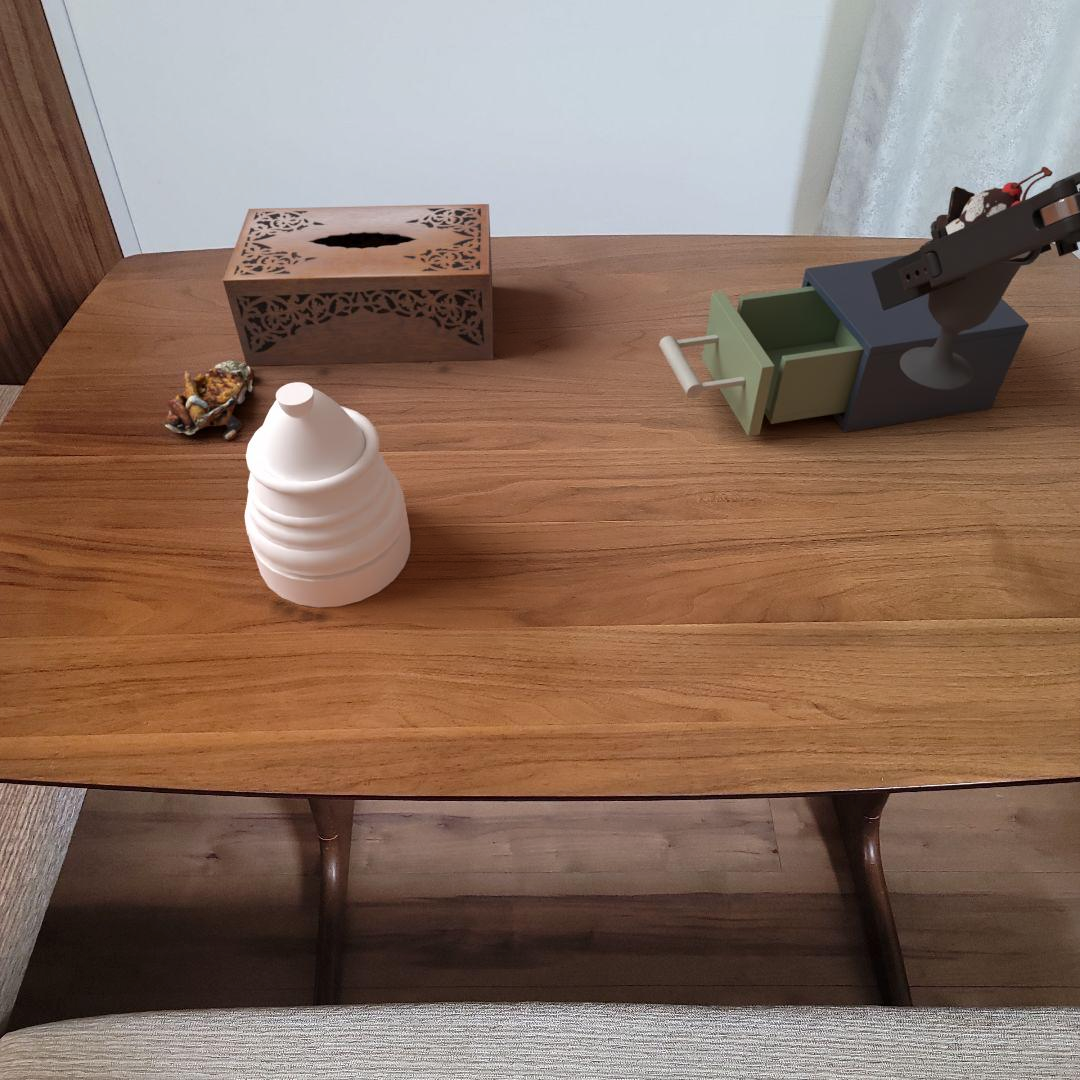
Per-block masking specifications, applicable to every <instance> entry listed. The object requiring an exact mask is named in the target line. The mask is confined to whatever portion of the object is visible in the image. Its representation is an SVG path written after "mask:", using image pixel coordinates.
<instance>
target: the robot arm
mask: <svg viewBox="0 0 1080 1080" xmlns="http://www.w3.org/2000/svg"><path fill="white" fill-rule="evenodd" d="M1078 185H1080V171H1078V172H1076V173H1074V174H1070V175H1069V176H1067V177H1064V178H1061V179H1059V180H1057V181H1055V182H1053V184H1052V185H1051V186H1050V187H1049V188H1047V189H1045V190H1042V191H1041V192H1039V193H1037V194H1034V195H1032V196H1031V197H1029V198H1026V200H1024V201H1022V200H1021V201H1022V202H1020V203H1018V204H1015V205H1013V206H1011V207H1009V208H1007V209H1004V210H1002V211H1000V212H998V213H995V214H993V215H991V216H989V217H987V218H984V219H982V220H980V221H978V222H975V223H973V224H971V225H969V226H967V227H964V228H962V229H960V230H958V231H955V232H953V233H951V234H949V235H948V233H947V230H946V227H942V228H938V229H935V230H933V231H931V230H930V236H931V238H932V239H931V240H928V241H926V242H925V243H924V244H922V245H921V246H920V247H919V249H918V250H916V251H914V252H912V253H909V254H906V255H907V256H905V257H903V258H901V259H898V260H896V261H894V262H892V263H890V264H888V265H885V266H883V267H881V268H879V269H877V270H875V271H872V272H871V273H872V277H873V280H874V283H875V286H876V289H877V292H878V296H879V299H880V302H881V305H882V308H883V311H884V310H887V309H890V308H893V307H895V306H898V305H901V304H903V303H906V302H908V301H911V300H913V299H916V298H918V297H921V296H923V295H926V294H928V293H931V292H934V291H936V290H939V289H941V288H944V287H946V286H949V285H951V284H954V283H956V282H959V281H962V280H964V279H965V277H964V276H967V275H969V274H972V273H974V272H977V271H980V270H982V269H985V268H988V267H990V266H993V265H995V264H998V263H1001V262H1003V261H1006V260H1008V259H1011V258H1014V257H1016V256H1019V255H1021V254H1024V253H1027V252H1029V251H1032V250H1035V249H1037V248H1040V247H1042V250H1041V252H1040V254H1039V255H1042V254H1043V253H1047V252H1049V251H1052V246H1051V244H1053V243H1055V248H1056V251H1057V254H1058V257H1063V256H1065V255H1068V254H1071V253H1074V252H1076V251H1079V246H1078V243H1080V187H1079V188H1078Z"/></svg>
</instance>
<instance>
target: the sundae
mask: <svg viewBox="0 0 1080 1080" xmlns="http://www.w3.org/2000/svg"><path fill="white" fill-rule="evenodd" d="M1040 174H1043V175H1042V176H1040V177H1038V178H1036V179H1034V180H1033V181H1032V182H1030V184H1029V185H1028V186H1027V187H1026V188H1025V190H1023V187H1022V185H1023V184H1024V183H1026V182H1028V181H1029V180H1031V179H1032V178H1034V177H1035V176H1037V175H1040ZM1052 175H1053V171H1052V170H1050V169H1049V167H1047V166H1042V167H1041V169H1040V170H1039V171H1038V172H1036V173H1033V174H1032V175H1029V176H1028V177H1026V178H1025V179H1023V180H1022V181H1020V182H1007V183H1006V184H1004V185H1003V187H1002V188H1000V187H997V186H996V187H995V186H994V187H993V188H990V189H989V188H988V189H986V190H983V191H981V192H979V193H977V194H975V193H974V192H971V191H969V190H967V189H965V188H962V187H960V186H953V187H952V188H951V192H950V198H949V203H948V209H947V214H939V215H937V216H936V220H934V221H933V222H931V224H930V226H929V227H930V232H931V231H933V230H935V229H938V228H942V227H946V230H947V233H948V235H949V234H951V233H953V232H955V231H958V230H960V229H962V228H964V227H967V226H969V225H971V224H973V223H975V222H978V221H980V220H982V219H984V218H987V217H989V216H991V215H993V214H995V213H998V212H1000V211H1002V210H1004V209H1007V208H1009V207H1011V206H1013V205H1015V204H1018V203H1020V202H1022V201H1024V200H1027V195H1028V192H1029V191H1030V189H1031V187H1033V185H1034V184H1036V183H1037V182H1039V181H1041V180H1042V179H1045V178H1046V177H1047V178H1048V177H1052ZM1023 191H1024V192H1023ZM1021 196H1022V197H1021ZM1041 250H1042V247H1040V248H1037V249H1035V250H1032V251H1029V252H1027V253H1024V254H1021V255H1019V256H1016V257H1014V258H1011V259H1008V260H1006V261H1003V262H1001V263H998V264H995V265H993V266H990V267H988V268H985V269H982V270H980V271H977V272H974V273H972V274H969V275H967V276H964V277H965V279H964V280H962V281H959V282H956V283H954V284H951V285H949V286H946V287H944V288H941V289H939V290H936V291H934V292H931V293H929V297H928V308H929V311H930V312H931V314H932V316H933V318H934V319H935V321H936V322H937V323H938V324H939V325H941V327H942V329H941V332H940V334H939V337H938V339H937V341H936V343H935V345H934V346H933V347H918V348H913V349H911V350H909V351H907V352H906V353H904V354H903V356H902V357H901V359H900V366H901V369H902V371H903V372H904V373H905V374H906V375H907V376H908V378H910V379H911V380H913V381H914V382H916V383H918V384H920V385H923V386H926V387H929V388H933V389H940V390H952V389H957V388H961V387H963V386H965V385H967V384H968V383H970V382H971V380H972V378H973V370H972V368H971V366H970V364H969V363H968V362H967V361H966V360H965V359H964V358H963V357H961V356H960V355H958V354H956V353H954V352H953V348H954V344H955V342H956V339H957V337H958V334H959V333H960V332H962V331H964V330H969V329H972V328H974V327H976V326H978V325H980V324H982V323H984V322H985V321H986V320H987V319H988V318H989V316H990V315H991V314H992V312H993V311H994V309H995V308H996V306H997V305H998V303H999V301H1000V300H1001V298H1002V299H1003V296H1004V294H1005V293H1006V291H1007V289H1008V288H1009V286H1010V284H1011V282H1012V281H1013V279H1014V277H1015V276H1016V274H1017V273H1018V271H1019V270H1020V268H1021V267H1022V266H1028V265H1031V264H1033V263H1034V262H1035V261H1036V260H1037V259H1038V258H1039V257H1040V255H1041V254H1040V252H1041Z"/></svg>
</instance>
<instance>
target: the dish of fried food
mask: <svg viewBox="0 0 1080 1080" xmlns="http://www.w3.org/2000/svg"><path fill="white" fill-rule="evenodd" d="M253 372H254V371H253V369H252V367H251V366H247V365H246V363H244V362H240V361H234V360H226V361H223V362H220V363H218V364H215V366H214V367H212V368H210V369H209V371H206V374H202V373H199V374H197V376H196V377H194V378H193V379H192V375H191V374H190V373H188V372H187V371H186V370H185V371H184V376H183V382H184V387H185V388H184V390H185V391H183V392H182V394H177V396H176V397H175V398H172V399H170V400H168V401H167V402H166V403H167V407H168V414H167V417H166V419H165V423H164V426H165V427H166V428H167V429H168V430H170V431H171V432H173V433H176V434H177V433H178V434H180V433H183V434H186V435H188V436H189V435H190V436H191V435H193V434H196V432H198V431H199V430H200V429H201V430H202V429H203V428H206V427H216V426H218V427H221V426H223V425H225V426H226V428H227V429H226V431H224V432H223V434H222V436H221V438H222V439H223V441H230V440H233V439H235V438H236V436H237V432H238V431H239V430H240V429H241V428H242V422H241V421H240V420H239V419H238V418H237V417H235V416H234V415H233V411H234V409H235V406H236V405H239V404H240V405H241V404H242V403H243V402H244V401H245V399H246V397H245V395H246V392H247V391H248V392H249V393H253V392H252V391H253V389H254V386H253V385H252V384H253V378H254V373H253Z"/></svg>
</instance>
